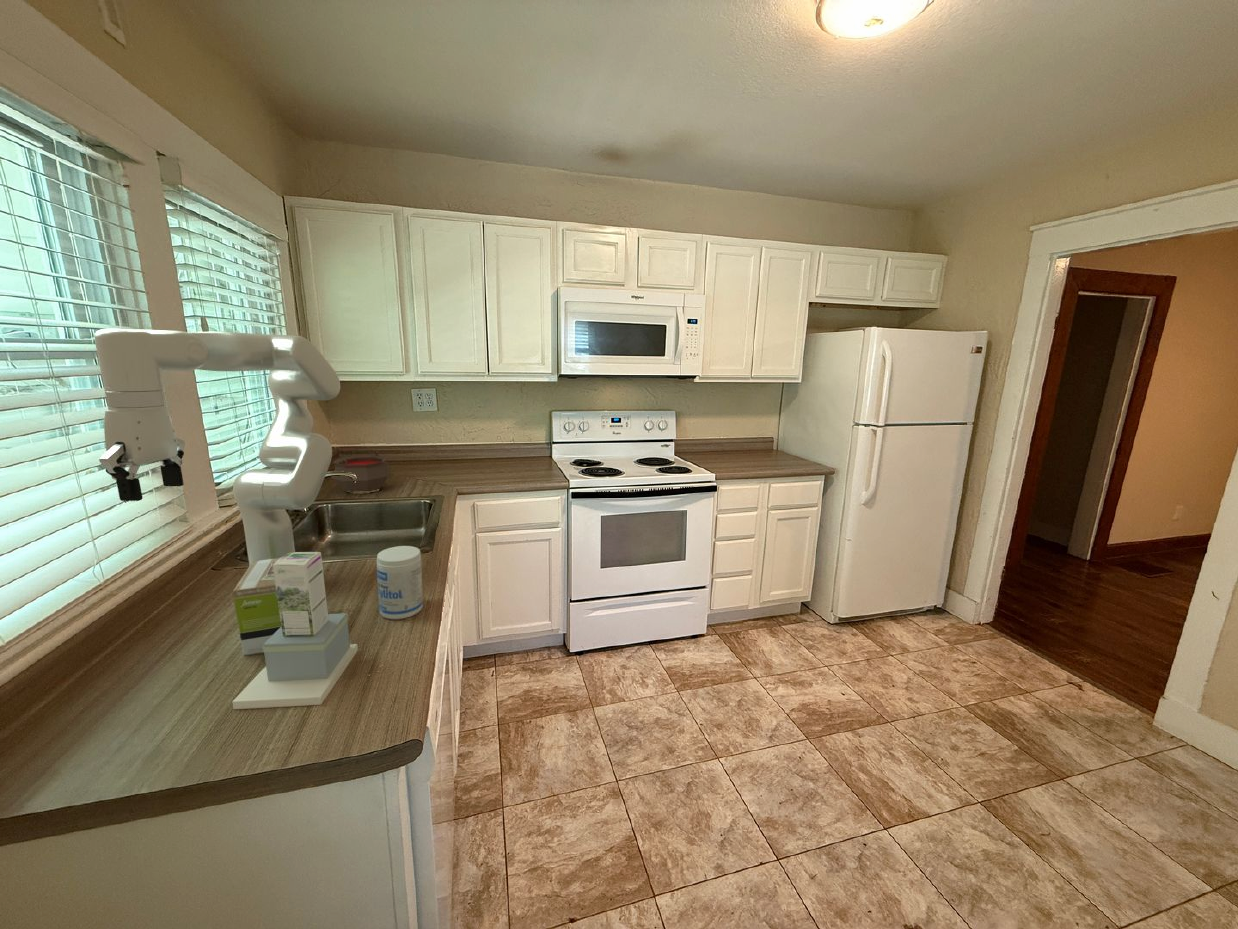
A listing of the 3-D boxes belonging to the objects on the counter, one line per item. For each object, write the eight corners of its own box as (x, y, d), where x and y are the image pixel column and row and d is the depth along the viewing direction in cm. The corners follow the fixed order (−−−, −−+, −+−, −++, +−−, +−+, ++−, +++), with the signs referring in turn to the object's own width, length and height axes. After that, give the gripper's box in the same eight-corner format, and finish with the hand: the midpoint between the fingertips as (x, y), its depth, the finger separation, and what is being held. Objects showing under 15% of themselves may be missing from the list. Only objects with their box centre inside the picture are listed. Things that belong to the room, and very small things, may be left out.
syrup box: (330, 620, 95) (322, 550, 91) (314, 637, 89) (305, 563, 86) (299, 620, 94) (290, 550, 91) (281, 638, 88) (271, 563, 85)
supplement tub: (372, 621, 111) (367, 561, 108) (390, 600, 121) (385, 544, 117) (415, 621, 112) (411, 561, 109) (429, 601, 121) (426, 545, 118)
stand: (284, 653, 98) (279, 613, 97) (357, 650, 100) (354, 610, 98) (233, 709, 83) (225, 662, 81) (321, 704, 85) (315, 658, 83)
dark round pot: (356, 481, 227) (353, 447, 224) (404, 485, 224) (402, 450, 221) (319, 495, 204) (314, 457, 201) (371, 499, 201) (368, 461, 197)
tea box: (261, 620, 110) (252, 559, 107) (312, 612, 114) (305, 553, 111) (241, 657, 97) (230, 589, 94) (300, 647, 101) (292, 581, 98)
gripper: (152, 396, 95) (167, 481, 99) (65, 405, 78) (87, 507, 82) (195, 397, 96) (208, 481, 100) (117, 406, 79) (137, 506, 83)
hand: (153, 492), depth 91 cm, fingers open, 9 cm apart
